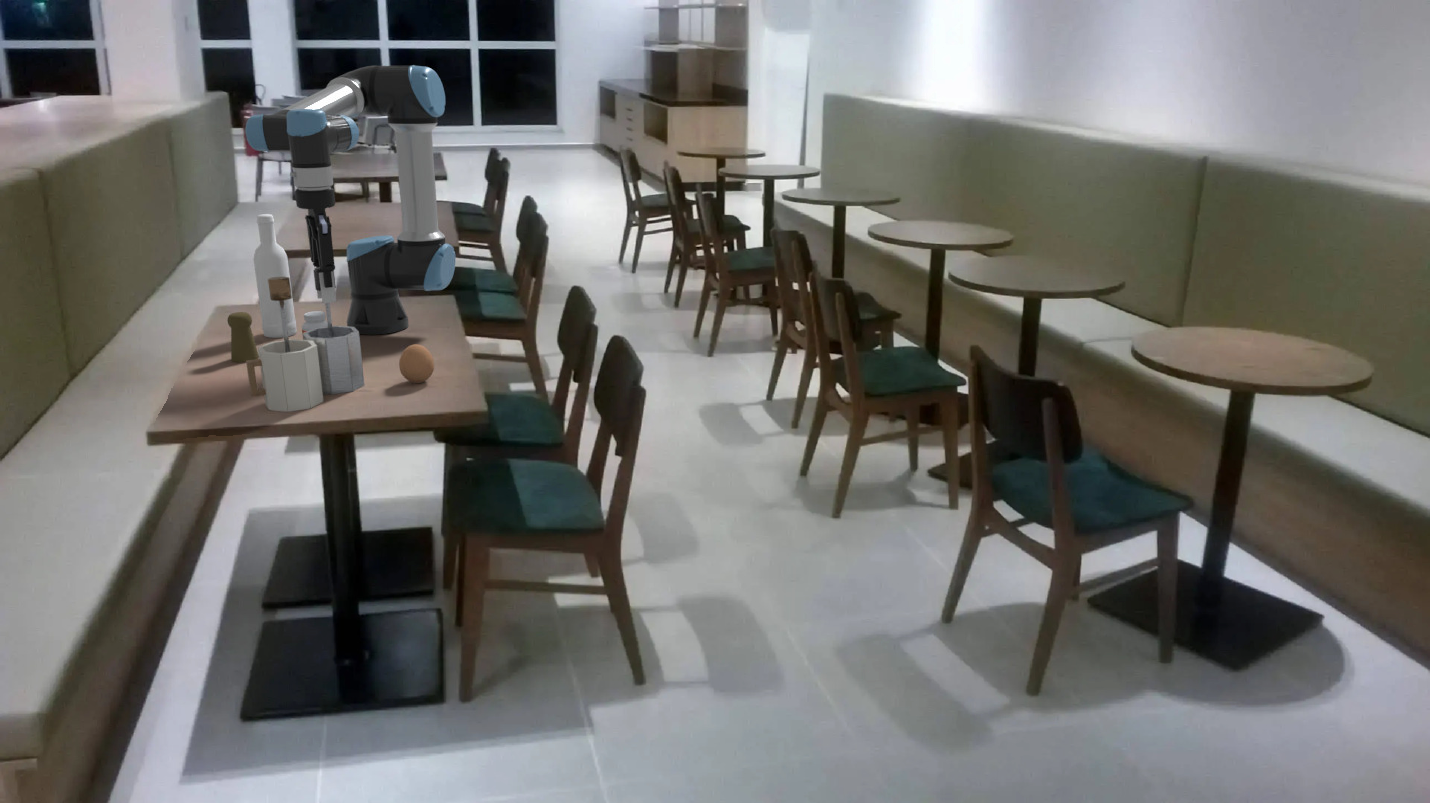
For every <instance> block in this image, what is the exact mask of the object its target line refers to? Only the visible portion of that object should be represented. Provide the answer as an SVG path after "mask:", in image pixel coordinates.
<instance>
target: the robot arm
mask: <svg viewBox="0 0 1430 803" xmlns="http://www.w3.org/2000/svg"><path fill="white" fill-rule="evenodd" d="M445 106H446V94H445V90H444V86H443V82H442V81H441V78H440V77H439V75H438V73H437V72H436V71H435V70H434V69H432V68H430V67H428V66H421V65H415V64H413V65H369V66H364V67H359V68H356V69H353V70H351V71H348V72H345V73H344V74H342V75H339V76H337V77H335V78H333V79H331V80H330V81H329V83H328V84H327V85H326V87H325V88H323V89H322V90H321V89H320V90H318V91H317V92H315V93H313V94H311V95H310V96H308V97H305V98H303V99H301V100H299V101H297V102H295V103H293V104H291V105H289V106H287V107H285V108H283V109H281V110H279V111H276V112H274V113H273V114H264V113H261V114H254V115H251V116H250V117H249V118H248V120H247V121H246V124H245V128H244V130H245V136H246V141H247V142H248V145H249V146H250V147H251V149H253V150H255V151H257V152H258V151H259V152H267V153H273V152H274V153H282V152H283V153H290V157H291V158H290V159H291V167H292V170H293V171H291V172H290V173H289V176H290V177H291V178H293V184H294V187H296V189H295V191H294V196H295V203H296V207H297V208H299V209H302V210H307V213H308V215H307V214H305V217H304V219H305V222H306V228H307V229H306V230H307V236H308V243H309V251H310V261H311V263H312V266H314V268H313V270H315V269H319V268H320V269H319V270H316V272H317V273H319V278H320V287H321V291H318V290H316V296H317V299H318V300H319V299H321V300H322V301H321V302H322V304H325V303H336V302H337V295H336V288H335V286H336V283H335V284H334V277H335V274H334V275H333V270H334V271H335V270H336V265H335V256H334V247H333V246H334V245H333V238H332V227H333V226H332V223H331V221H330V220H331V219H330V216H328V215H327V212H326V209H328V208H329V209H330V208H333V207H335V206H336V196H335V189H334V188H333V187H332V186H333V185H334V176H333V168H332V163H331V155H332V154H338V153H345V152H347V151H349V150H352V149H353V148H354V147H355V146H356V145H357V144H358V142H359V140H360V139H359V138H360V131H359V127H358V125H357V123H356V122H355V121H354V119H353V118H357V117H358V116H383V117H387V125H388V126H390V128H391V129H392V130H393V131H394V132H395V144H396V146H395V147H396V148H395V149H396V158H397V160H396V161H397V172H398V184H399V196H400V198H399V200H400V208H401V209H400V212H401V222H402V223H401V224H402V230H401V232H400V233H399V234H398V235H397V237H396V238H397V239H396V240H397V242H395V239H394V237H393V236H392V235H387V234H386V235H375V236H369V237H365V238H361V239H356V240H354V241H351V242H349V244H348V245H347V246H346V263H347V269H348V270H347V271H348V272H347V273H348V280H349V287H350V288H349V289H350V295H351V297H350V298H351V300H350V306H349V310H348V315H347V319H346V326H349V327H355V328H356V329H357V330H358V331H359V335H370V336H371V335H385V334H390V333H391V334H392V333H395V332H399V331H400V332H401V331H403V330H404V329H407V328H408V327H409V317H408V315H407V311H406V310H405V307H404V305H403V303H402V301H401V298H400V295H399V290H414V291H416V290H417V291H425V292H431V291H442V290H444V289H445V288H447V287H448V286H449V285H450V283H451V281H452V280H453V277H454V273H455V269H456V257H457V256H456V252H455V248H454V247H453V246H452V245H451V244H449V243H447V242H446V236H445V234H444V233H443V232H442V231H440V228H439V219H438V205H437V202H438V201H437V189H436V176H435V174H436V173H435V161H434V147H433V145H434V144H433V143H434V142H433V135H432V134H433V130H434V128H436V126H437V125H438V118H439V117H442V116H443V115H444V113H445V109H446V108H445Z"/></svg>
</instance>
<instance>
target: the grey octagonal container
mask: <svg viewBox="0 0 1430 803" xmlns="http://www.w3.org/2000/svg"><path fill="white" fill-rule="evenodd" d="M332 328H333V338H329V332H328V327H320V328H314V329H312V330H309V331H307V332H304V333H302V340H312V341H313V342H314V343H315V344H316V345H317V351H318V359H319V368H320V376H321V384H322V393H323V395H336V394H344V393H351V392H354V391H356V390H358V389H361V388H362V387H364V386H365V378H364V368H363V359H362V358H363V357H362V349H361V348H362V347H361V340H360V339H361V338H360V334H359V331H358V330H357V329H356V328H355V327H349V326H347V325H332Z"/></svg>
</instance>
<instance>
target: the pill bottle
mask: <svg viewBox="0 0 1430 803" xmlns="http://www.w3.org/2000/svg"><path fill="white" fill-rule="evenodd" d="M303 318H304V321H305V322H303V324H302V325H301V331H302V334H303V333H304V332H307V331H309V330H312V329H314V328H320V327H328V323H327V315H326V311H322V310H315V311H308V312H305V313H304V314H303Z"/></svg>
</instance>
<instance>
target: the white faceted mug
mask: <svg viewBox="0 0 1430 803" xmlns="http://www.w3.org/2000/svg"><path fill="white" fill-rule="evenodd" d="M289 345H290V352H287V353H286V351H285V343H284V339H283V340H276V341H270V342H268V343H265V344H263V345H260V346H259V347H257V352H258V355H259V359H255V360H248V361H246V362H245V364H246V370H247V378H248V383H249V392H250V396H251V397H252V398H254V397H260V396H264V405H265V406H266V407H267V409H268V410H269V411H275V412H276V411H277V412H285V413H288V412H289V413H290V412H296V411H302V410H308V409H312V408H314V407H316V406H317V405H320V404H321V403H323V402H324V394H323V393H322V384H321V376H320V368H319V359H318V351H317V345H316V344H315V343H314V342H313V341H312V340H303V339H298V338H297V339H295V338H292V339H289ZM255 367H260V376H261V381H262V382H261V383H262V388H261V387H260V388H258V383H257V377H256V370H255V369H256V368H255Z"/></svg>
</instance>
